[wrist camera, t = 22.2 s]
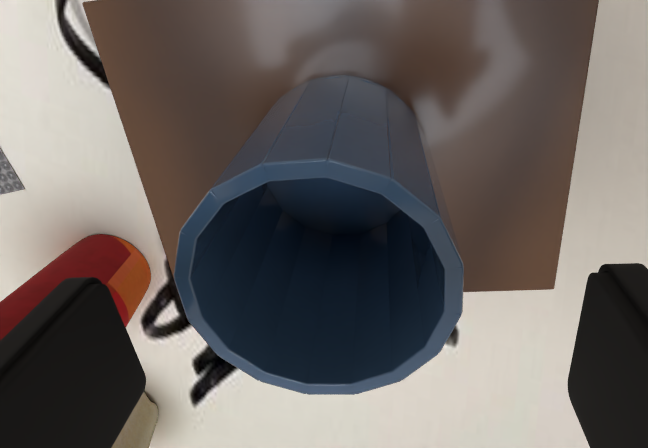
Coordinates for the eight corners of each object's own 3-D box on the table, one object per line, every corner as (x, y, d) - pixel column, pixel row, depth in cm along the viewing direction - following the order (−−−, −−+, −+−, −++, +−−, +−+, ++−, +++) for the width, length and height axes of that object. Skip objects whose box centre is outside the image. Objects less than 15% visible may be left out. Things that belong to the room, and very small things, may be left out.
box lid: (186, 290, 22) (180, 301, 21) (94, 0, 16) (81, 2, 15) (548, 278, 20) (554, 289, 19) (598, -67, 14) (609, -68, 13)
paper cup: (37, 258, 32) (-171, 435, 20) (99, 198, 29) (-98, 363, 17) (124, 328, 35) (-13, 523, 22) (190, 279, 32) (74, 473, 19)
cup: (427, 65, 15) (469, 148, 8) (428, 232, 18) (459, 395, 11) (240, 84, 16) (137, 172, 9) (272, 239, 19) (211, 394, 12)
